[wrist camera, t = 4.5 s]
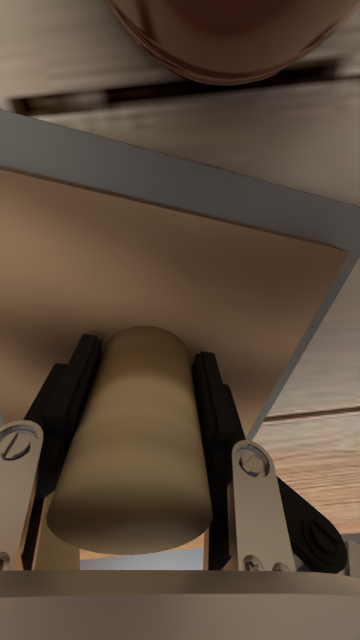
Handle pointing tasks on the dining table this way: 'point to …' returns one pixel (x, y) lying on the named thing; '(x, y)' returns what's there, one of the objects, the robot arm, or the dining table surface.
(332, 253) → the lid
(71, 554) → the plant pot
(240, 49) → the mug
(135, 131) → the dining table surface
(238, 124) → the dining table surface
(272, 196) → the mat
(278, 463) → the dining table surface
